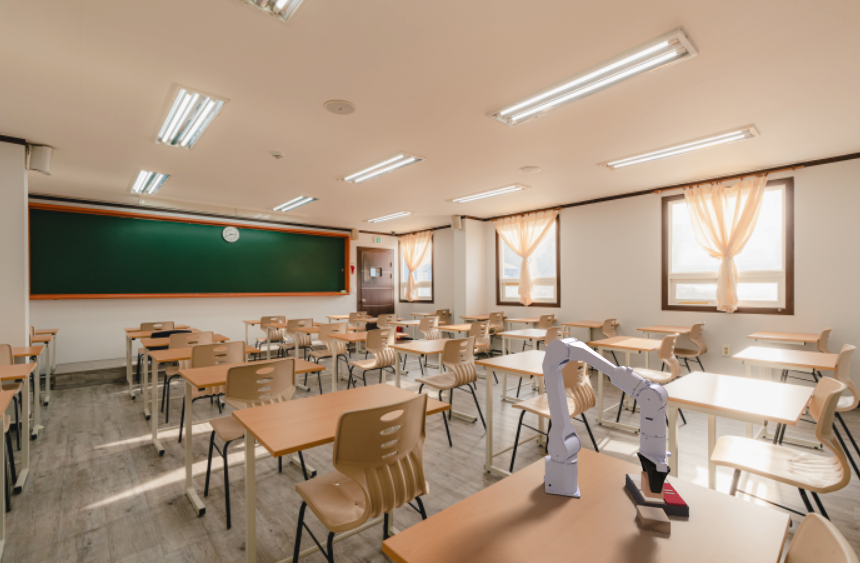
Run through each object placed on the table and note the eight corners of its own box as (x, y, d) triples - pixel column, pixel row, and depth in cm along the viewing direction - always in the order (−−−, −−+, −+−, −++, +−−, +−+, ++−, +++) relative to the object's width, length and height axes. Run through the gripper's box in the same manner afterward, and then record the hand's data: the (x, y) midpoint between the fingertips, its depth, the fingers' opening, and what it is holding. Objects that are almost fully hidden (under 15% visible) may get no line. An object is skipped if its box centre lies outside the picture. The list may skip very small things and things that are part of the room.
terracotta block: (645, 496, 96) (645, 478, 96) (641, 488, 100) (641, 471, 100) (663, 499, 95) (663, 480, 95) (658, 491, 99) (658, 473, 99)
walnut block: (643, 530, 95) (643, 518, 95) (636, 516, 101) (636, 505, 101) (670, 534, 94) (670, 522, 94) (662, 520, 99) (662, 508, 99)
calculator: (644, 500, 102) (625, 471, 117) (643, 516, 102) (624, 485, 117) (690, 504, 100) (664, 474, 115) (689, 521, 100) (664, 488, 115)
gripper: (681, 446, 89) (681, 505, 89) (661, 425, 104) (661, 476, 103) (647, 443, 91) (647, 501, 91) (632, 422, 105) (632, 473, 105)
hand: (652, 487), depth 97 cm, fingers closed on terracotta block, 4 cm apart
